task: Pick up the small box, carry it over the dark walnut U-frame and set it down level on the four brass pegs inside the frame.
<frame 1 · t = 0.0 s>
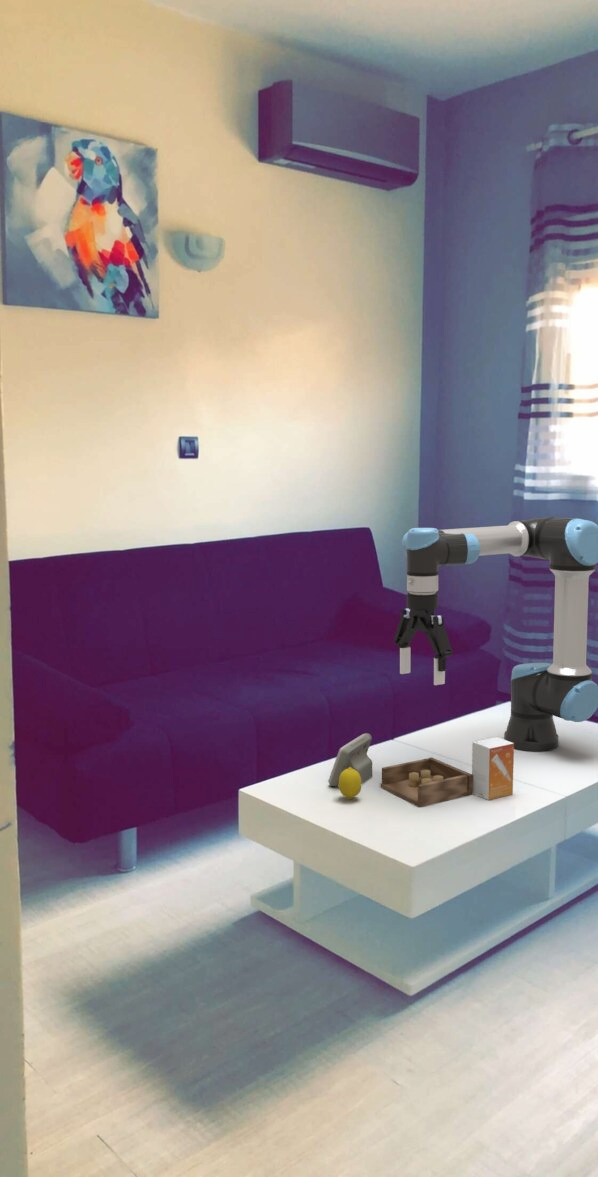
hand: (421, 678, 236), 28 cm above the table, fingers open, 13 cm apart
small box: (492, 794, 236), on the table
lemon: (350, 800, 233), on the table
peg frame: (425, 790, 238), on the table
digital clock: (350, 780, 247), on the table
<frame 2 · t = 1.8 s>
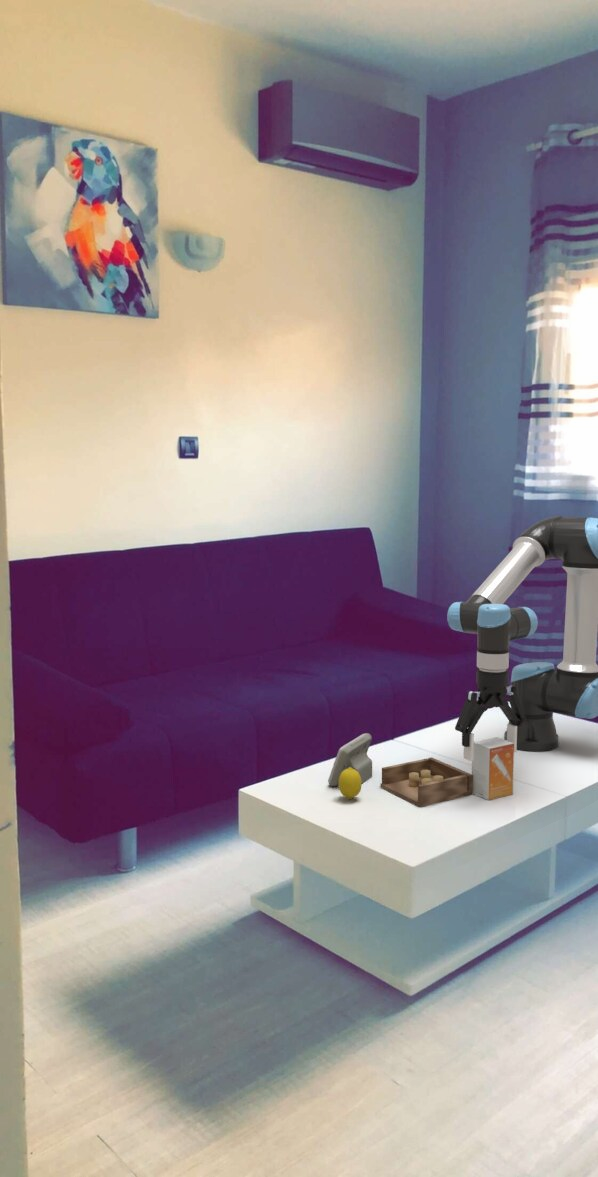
hand: (490, 755, 234), 10 cm above the table, fingers open, 13 cm apart
nothing on the table moved.
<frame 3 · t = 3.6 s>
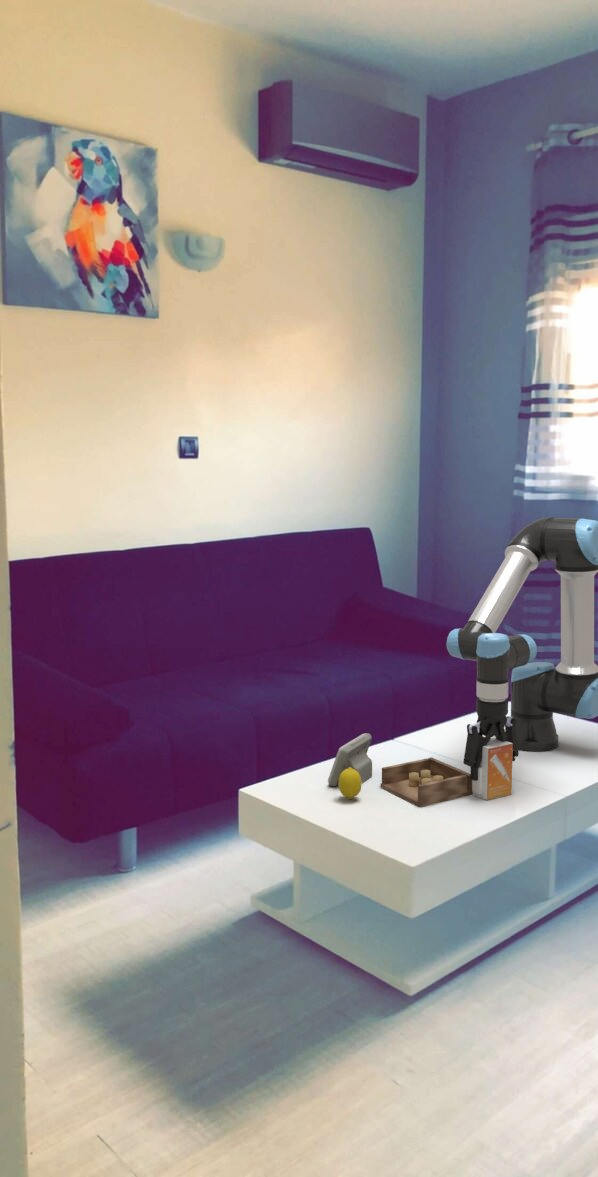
hand: (490, 789, 235), 1 cm above the table, fingers closed on small box, 8 cm apart
small box: (491, 794, 236), on the table, touching gripper
everything else where it was.
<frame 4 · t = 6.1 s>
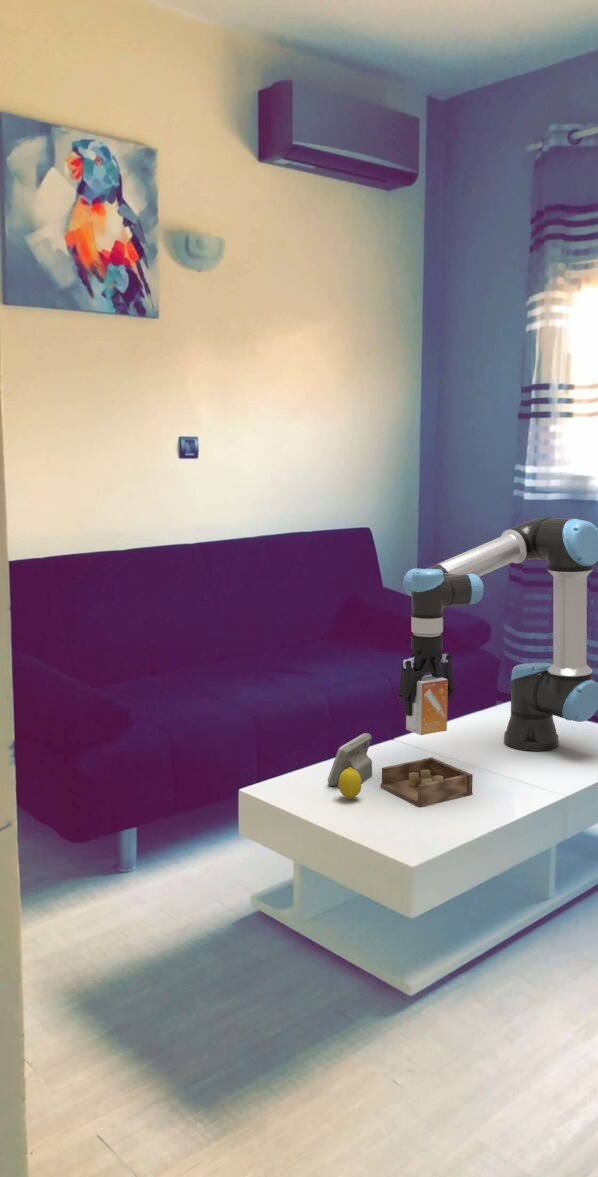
hand: (426, 725, 236), 17 cm above the table, fingers closed on small box, 8 cm apart
small box: (426, 731, 236), point 15 cm above the table, touching gripper
everything else where it was.
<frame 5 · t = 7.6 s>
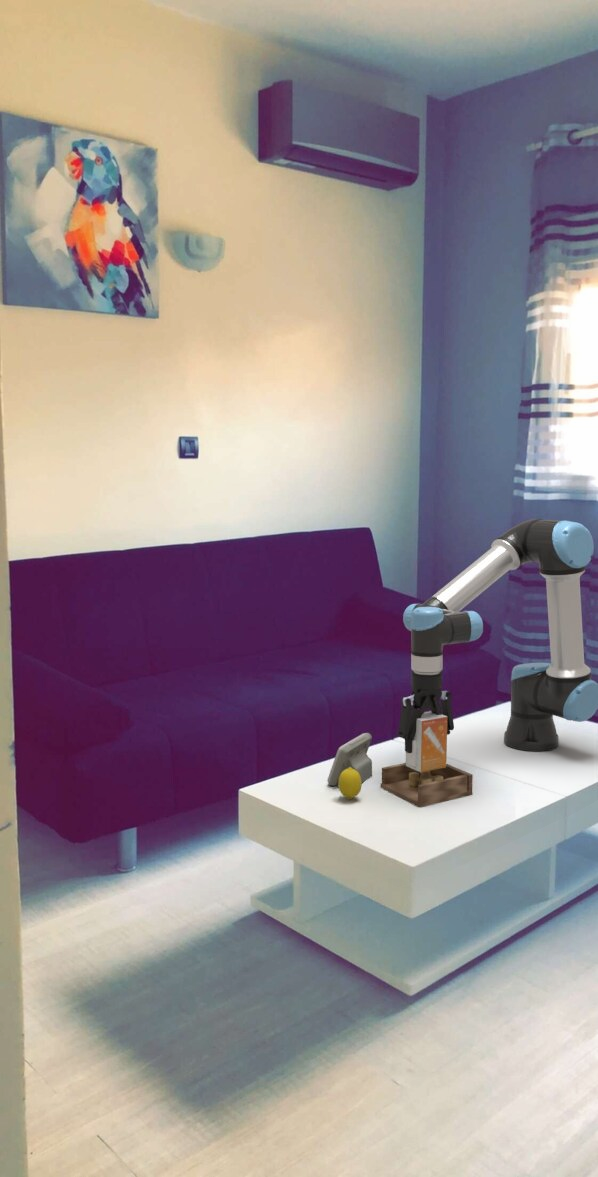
hand: (425, 761, 237), 7 cm above the table, fingers closed on small box, 8 cm apart
small box: (426, 767, 237), point 6 cm above the table, touching gripper
everything else where it was.
when the fingers open (7 cm above the table, at t = 8.6 s): small box drops 1 cm, resting on peg frame.
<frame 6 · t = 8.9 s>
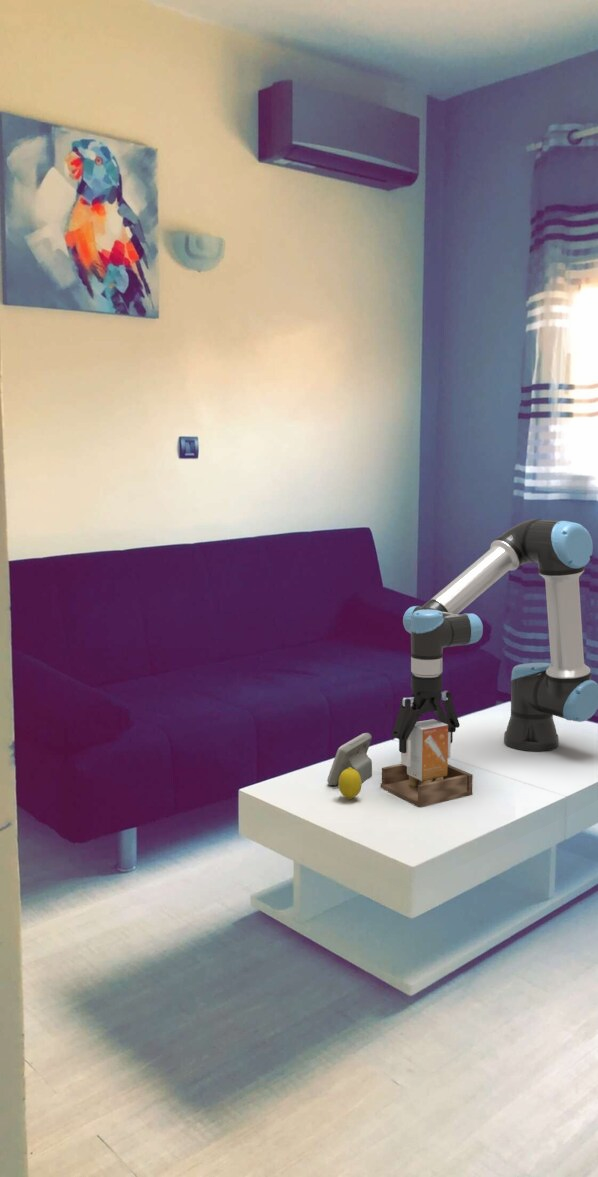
hand: (426, 760, 237), 8 cm above the table, fingers open, 11 cm apart
small box: (427, 776, 238), point 4 cm above the table, touching peg frame
everything else where it was.
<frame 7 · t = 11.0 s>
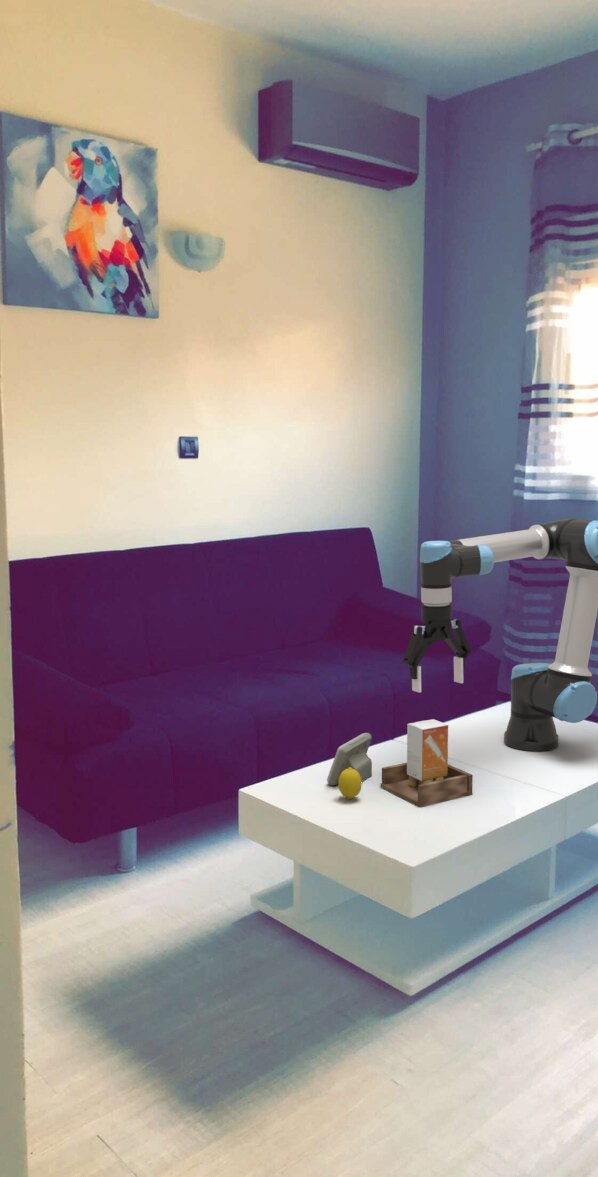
hand: (438, 686, 243), 24 cm above the table, fingers open, 13 cm apart
nothing on the table moved.
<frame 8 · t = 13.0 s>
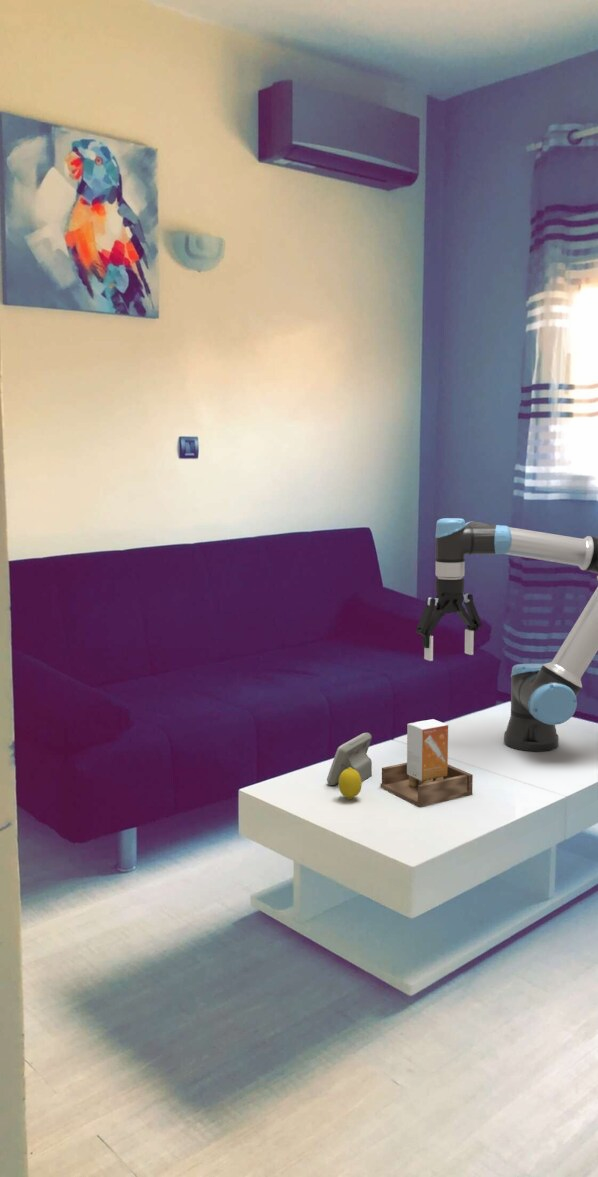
hand: (449, 657, 256), 29 cm above the table, fingers open, 13 cm apart
nothing on the table moved.
at the end: small box inside the target area on the peg frame (0.3 cm from its centre), point 3.8 cm above the peg frame's base; small box tilted 0°; the gripper is holding nothing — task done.
